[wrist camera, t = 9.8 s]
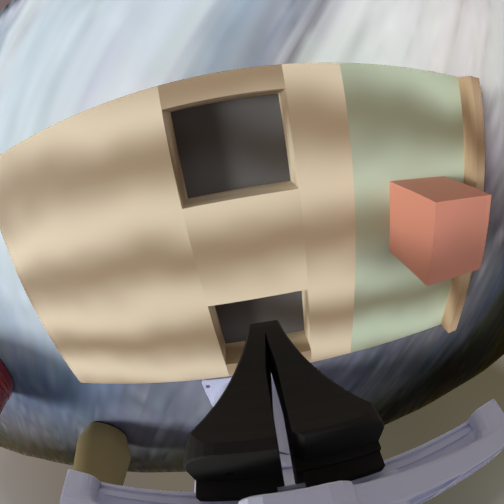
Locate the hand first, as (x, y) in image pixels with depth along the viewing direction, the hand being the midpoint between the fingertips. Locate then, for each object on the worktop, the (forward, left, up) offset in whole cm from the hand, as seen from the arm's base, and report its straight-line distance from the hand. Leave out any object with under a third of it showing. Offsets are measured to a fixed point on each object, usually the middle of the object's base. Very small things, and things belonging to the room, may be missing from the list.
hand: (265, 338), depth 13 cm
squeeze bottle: (-24, +25, -10) cm, 36 cm away
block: (+2, -12, -6) cm, 14 cm away
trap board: (+2, +1, -9) cm, 9 cm away
